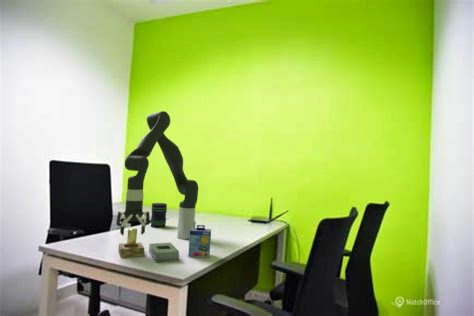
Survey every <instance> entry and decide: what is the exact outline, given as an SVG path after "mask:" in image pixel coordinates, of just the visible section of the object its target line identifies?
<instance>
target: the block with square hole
mask: <svg viewBox="0 0 474 316" xmlns="http://www.w3.org/2000/svg"><path fill="white" fill-rule="evenodd" d="M148 253H149V255H150V257H151V258H152V260H153V261H154V263H165V262H179V259H180V251H179V249H177V248H176V246H175V245H173V243H172V242H158V243H149V244H148Z"/></svg>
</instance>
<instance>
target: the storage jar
mask: <svg viewBox="0 0 474 316" xmlns="http://www.w3.org/2000/svg"><path fill="white" fill-rule="evenodd" d="M167 205H168V204H167V203H163V202H154V203H153V202H152V203H151V217H150V227H151V228H153V229H154V228H155V229H162V228H166V223H167V211H168V207H167Z"/></svg>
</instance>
